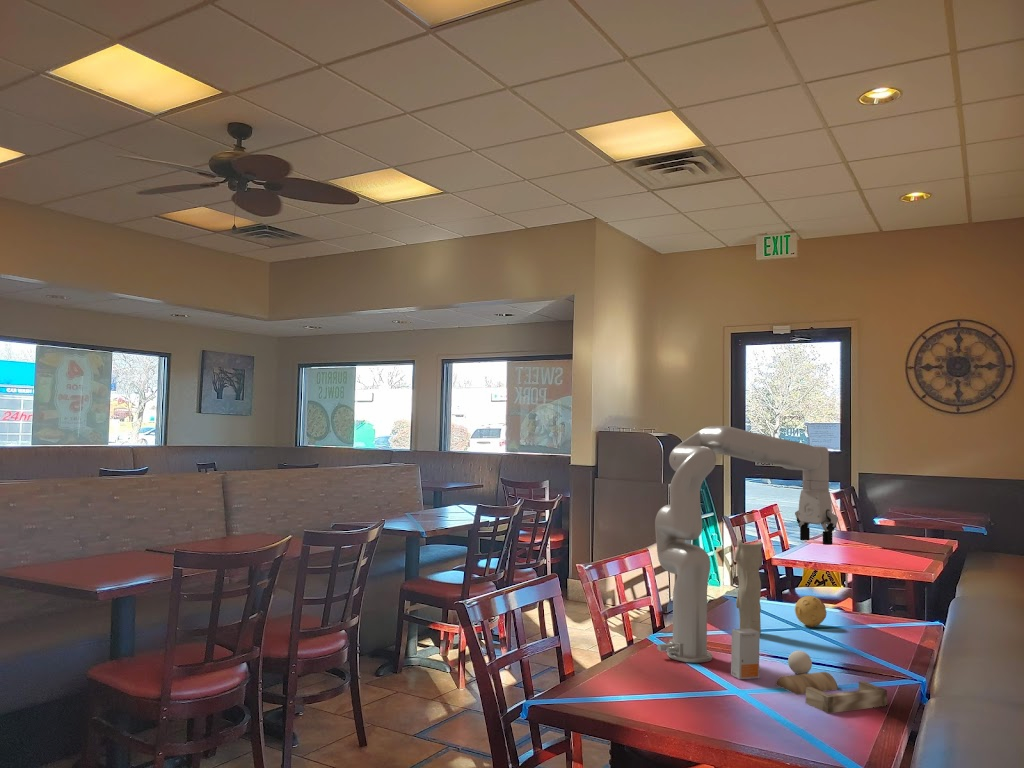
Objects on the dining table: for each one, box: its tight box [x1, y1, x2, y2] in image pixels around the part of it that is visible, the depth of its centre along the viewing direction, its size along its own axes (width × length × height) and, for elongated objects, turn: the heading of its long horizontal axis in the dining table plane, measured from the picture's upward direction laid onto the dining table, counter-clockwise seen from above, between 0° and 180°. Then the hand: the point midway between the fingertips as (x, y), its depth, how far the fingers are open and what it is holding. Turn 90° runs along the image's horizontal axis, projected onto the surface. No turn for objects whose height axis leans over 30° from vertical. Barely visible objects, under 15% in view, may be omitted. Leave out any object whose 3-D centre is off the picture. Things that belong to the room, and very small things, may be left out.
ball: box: [787, 650, 813, 675], centre depth 208 cm, size 6×6×6 cm
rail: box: [805, 680, 888, 714], centre depth 184 cm, size 18×7×4 cm, turn 110°
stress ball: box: [794, 595, 827, 628], centre depth 262 cm, size 10×10×10 cm
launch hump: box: [775, 671, 839, 695], centre depth 197 cm, size 13×8×8 cm, turn 110°
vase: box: [733, 538, 764, 634], centre depth 251 cm, size 9×8×30 cm
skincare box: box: [730, 628, 761, 680], centre depth 204 cm, size 6×4×12 cm
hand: (816, 542), depth 239 cm, fingers open, 9 cm apart
